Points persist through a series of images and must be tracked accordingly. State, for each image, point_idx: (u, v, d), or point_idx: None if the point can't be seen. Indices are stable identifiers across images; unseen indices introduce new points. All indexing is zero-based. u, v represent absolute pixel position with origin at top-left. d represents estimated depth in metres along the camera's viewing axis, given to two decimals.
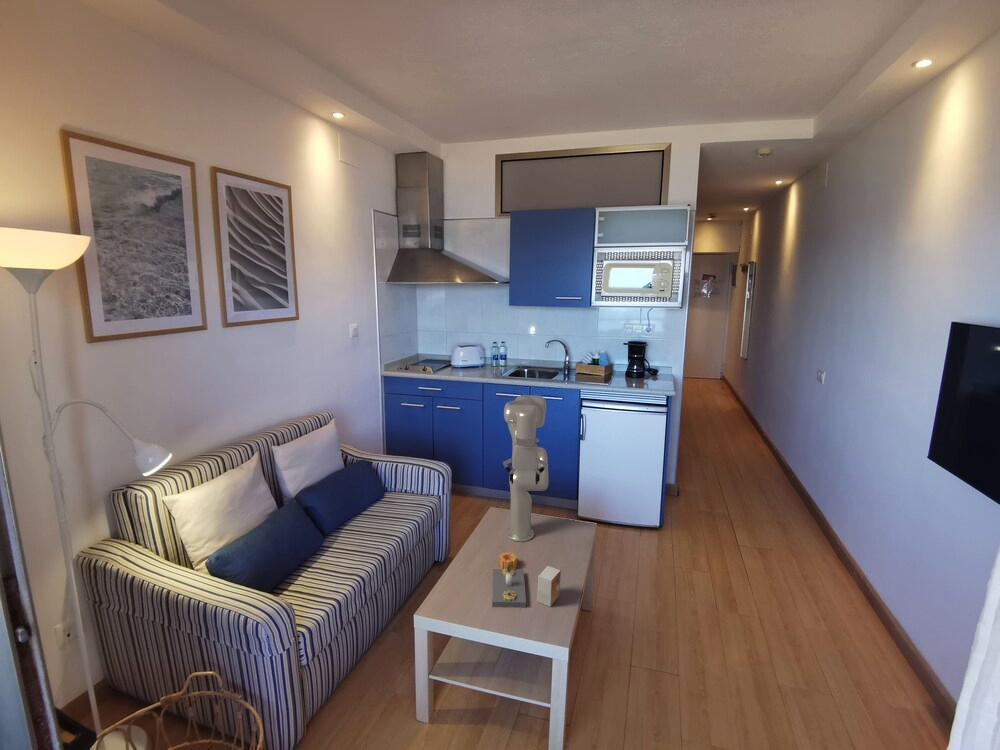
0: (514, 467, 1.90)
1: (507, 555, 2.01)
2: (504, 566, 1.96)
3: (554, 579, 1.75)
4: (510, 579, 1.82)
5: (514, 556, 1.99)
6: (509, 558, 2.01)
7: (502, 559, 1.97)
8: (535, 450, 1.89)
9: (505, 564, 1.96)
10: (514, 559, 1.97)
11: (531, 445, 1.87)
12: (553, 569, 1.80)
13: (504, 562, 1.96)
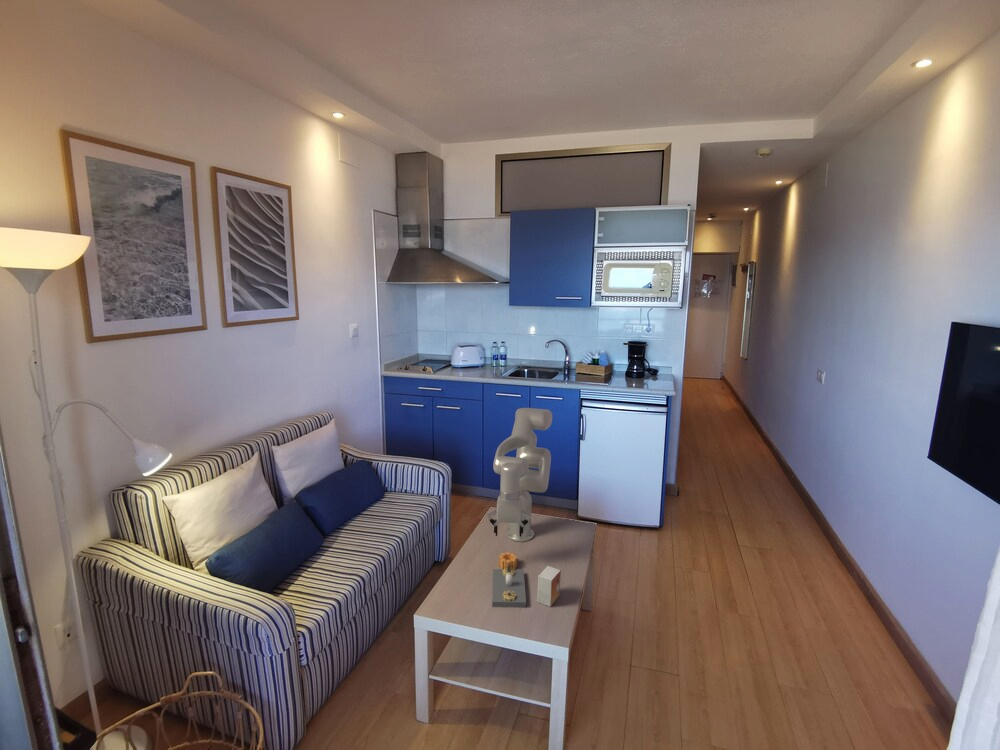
0: (498, 520, 1.93)
1: (507, 555, 2.01)
2: (504, 566, 1.96)
3: (554, 579, 1.75)
4: (510, 579, 1.82)
5: (514, 556, 1.99)
6: (509, 558, 2.01)
7: (502, 559, 1.97)
8: (519, 503, 1.92)
9: (505, 564, 1.96)
10: (514, 559, 1.97)
11: (515, 499, 1.91)
12: (553, 569, 1.80)
13: (504, 562, 1.96)
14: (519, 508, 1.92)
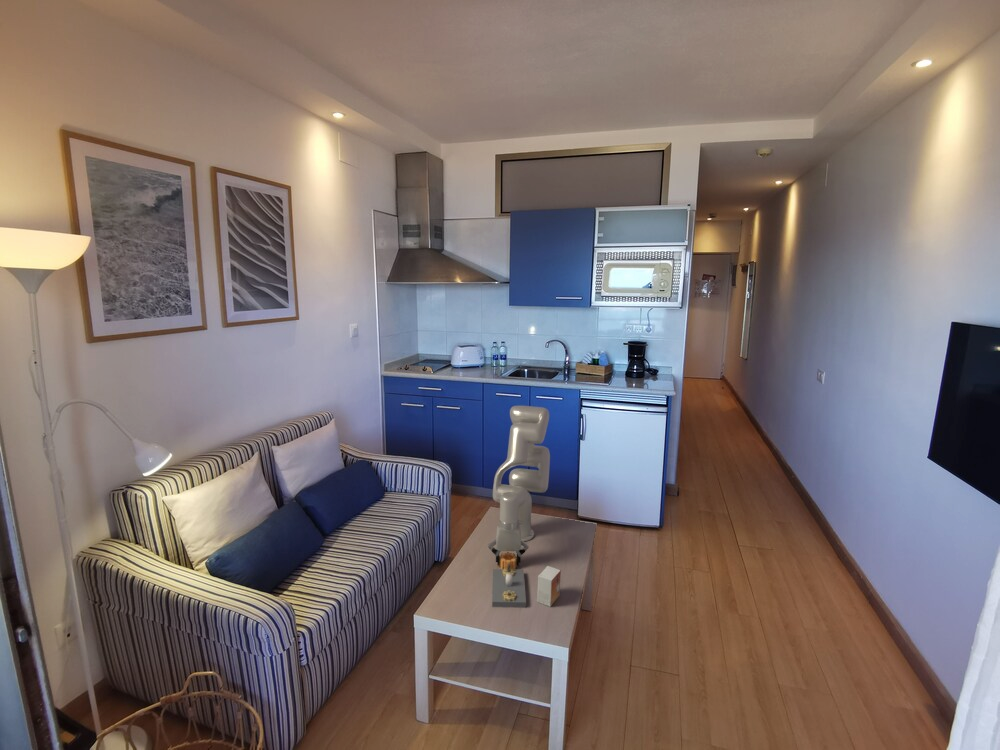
0: (498, 548, 1.96)
1: (507, 555, 2.01)
2: (504, 566, 1.96)
3: (554, 579, 1.75)
4: (510, 579, 1.82)
5: (514, 556, 1.99)
6: (509, 558, 2.01)
7: (502, 559, 1.97)
8: (518, 533, 1.94)
9: (505, 564, 1.96)
10: (514, 559, 1.97)
11: (514, 528, 1.93)
12: (553, 569, 1.80)
13: (504, 562, 1.96)
14: (518, 537, 1.95)
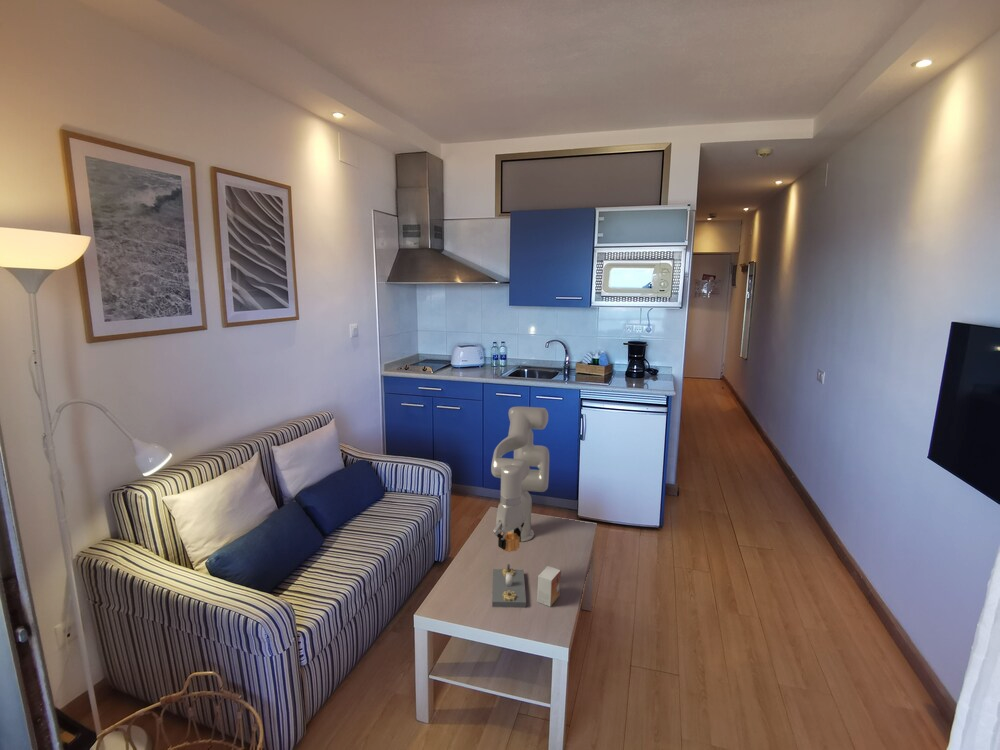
0: (505, 530, 1.76)
1: (505, 536, 1.82)
2: (512, 547, 1.79)
3: (554, 579, 1.75)
4: (510, 579, 1.82)
5: (513, 534, 1.83)
6: (507, 538, 1.83)
7: (508, 540, 1.78)
8: (521, 505, 1.80)
9: (513, 544, 1.78)
10: (517, 536, 1.82)
11: (520, 502, 1.78)
12: (553, 569, 1.80)
13: (512, 542, 1.78)
14: (522, 510, 1.81)
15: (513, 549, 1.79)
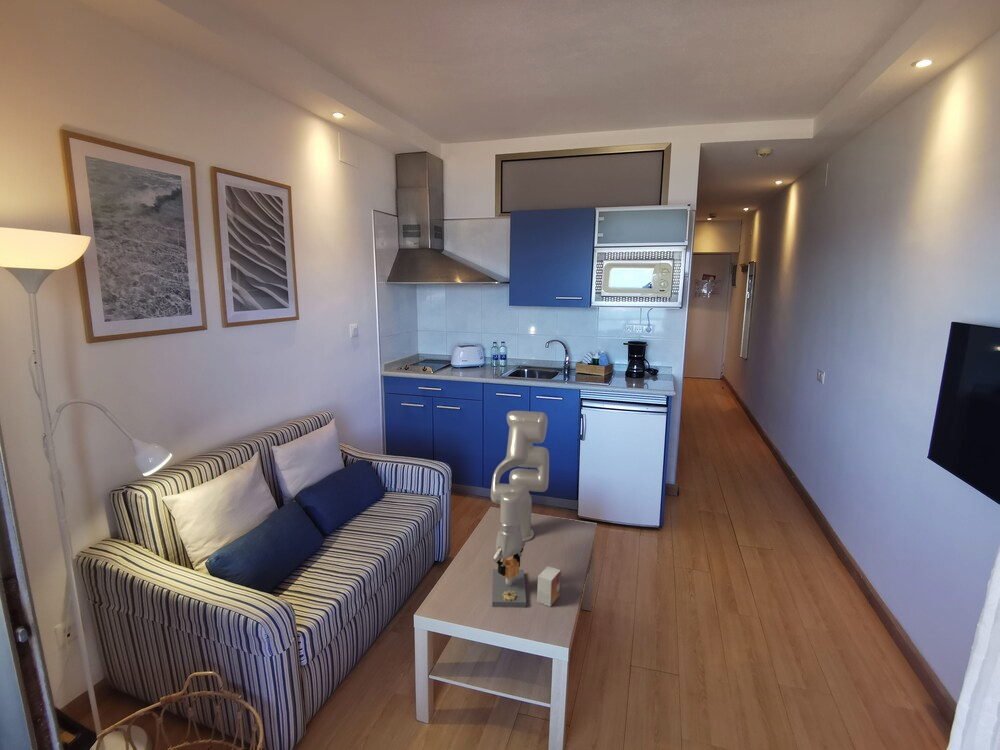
0: (505, 557, 1.77)
1: None
2: (511, 573, 1.80)
3: (554, 579, 1.75)
4: (510, 579, 1.82)
5: (513, 559, 1.84)
6: (506, 564, 1.84)
7: (508, 567, 1.79)
8: (521, 531, 1.81)
9: (513, 570, 1.79)
10: None
11: (520, 528, 1.79)
12: (553, 569, 1.80)
13: (511, 569, 1.79)
14: (521, 536, 1.82)
15: (513, 575, 1.80)
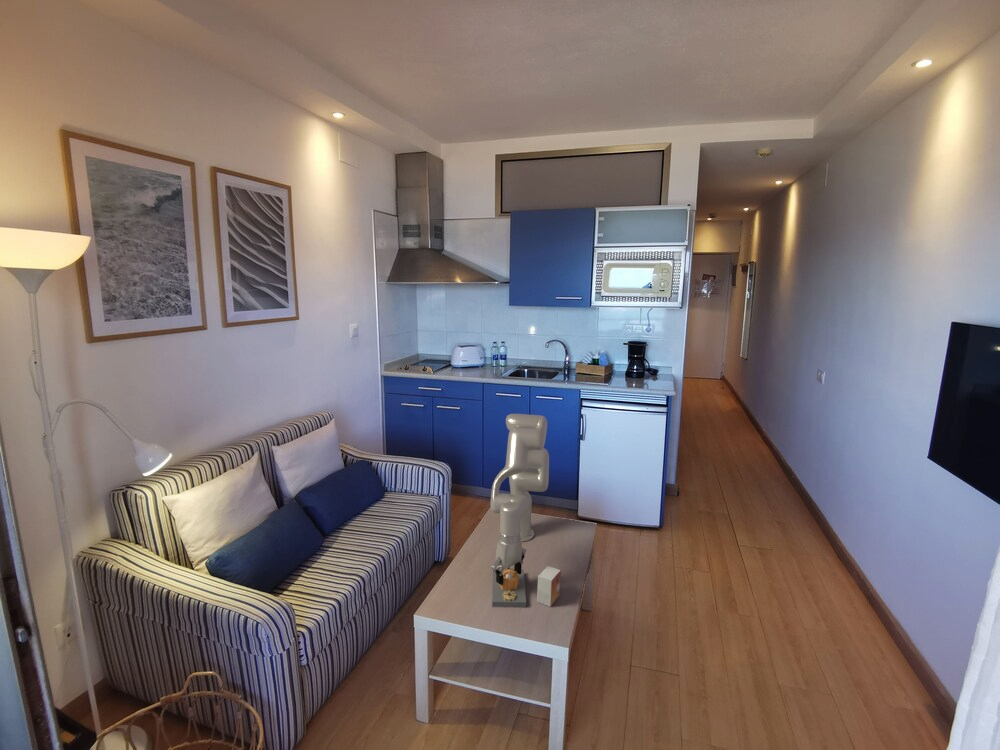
0: (505, 567, 1.78)
1: (504, 574, 1.85)
2: (511, 586, 1.81)
3: (554, 579, 1.75)
4: None
5: (512, 571, 1.85)
6: None
7: (508, 579, 1.80)
8: (520, 541, 1.82)
9: (512, 583, 1.81)
10: (516, 574, 1.84)
11: (519, 538, 1.80)
12: (553, 569, 1.80)
13: (511, 581, 1.80)
14: (521, 546, 1.82)
15: (513, 588, 1.81)
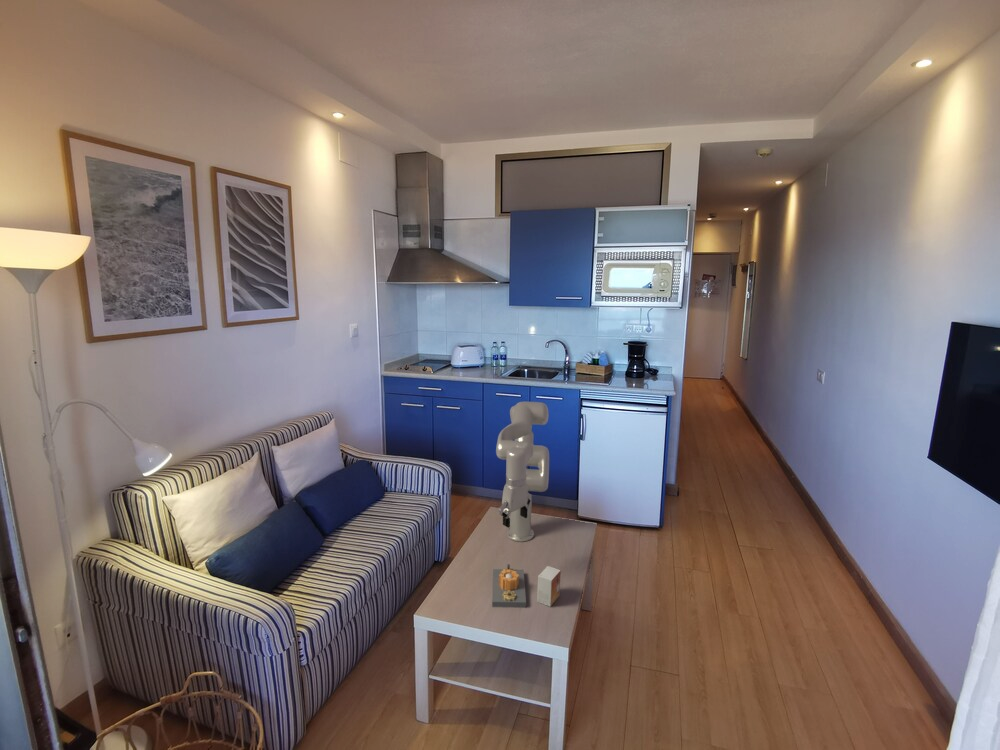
0: (511, 510, 1.82)
1: (504, 574, 1.85)
2: (511, 586, 1.81)
3: (554, 579, 1.75)
4: None
5: (512, 571, 1.85)
6: None
7: (508, 579, 1.80)
8: (526, 486, 1.86)
9: (512, 583, 1.81)
10: (516, 574, 1.84)
11: (525, 482, 1.83)
12: (553, 569, 1.80)
13: (511, 581, 1.80)
14: (527, 490, 1.86)
15: (513, 588, 1.81)
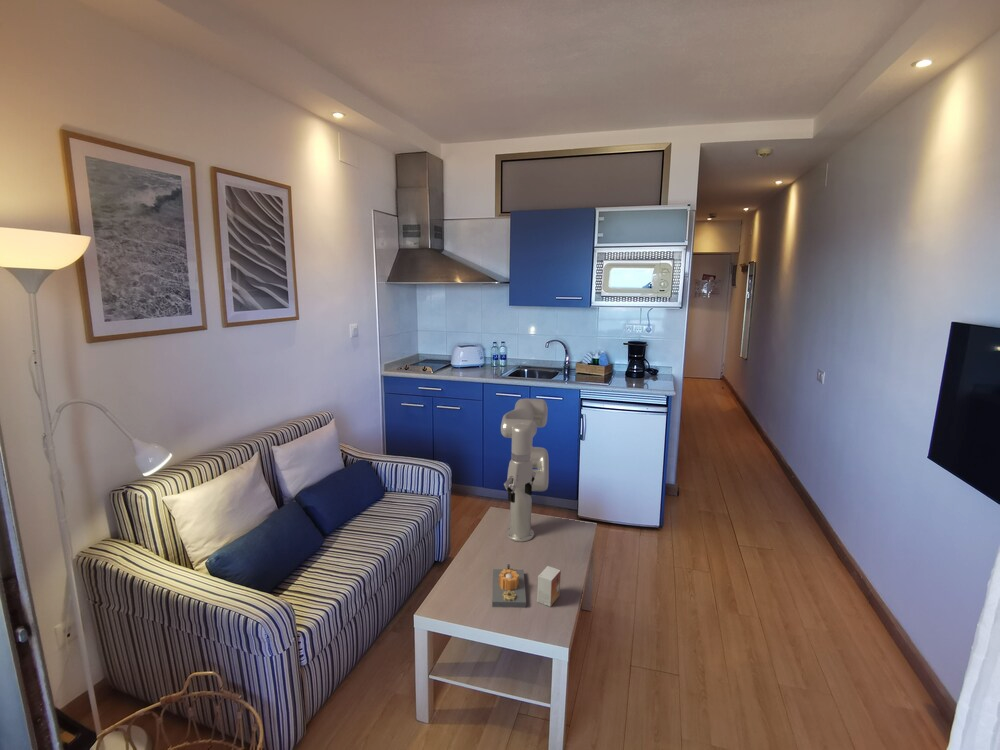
0: (516, 485, 1.87)
1: (504, 574, 1.85)
2: (511, 586, 1.81)
3: (554, 579, 1.75)
4: None
5: (512, 571, 1.85)
6: None
7: (508, 579, 1.80)
8: (531, 462, 1.91)
9: (512, 583, 1.81)
10: (516, 574, 1.84)
11: (530, 458, 1.89)
12: (553, 569, 1.80)
13: (511, 581, 1.80)
14: (531, 467, 1.92)
15: (513, 588, 1.81)
